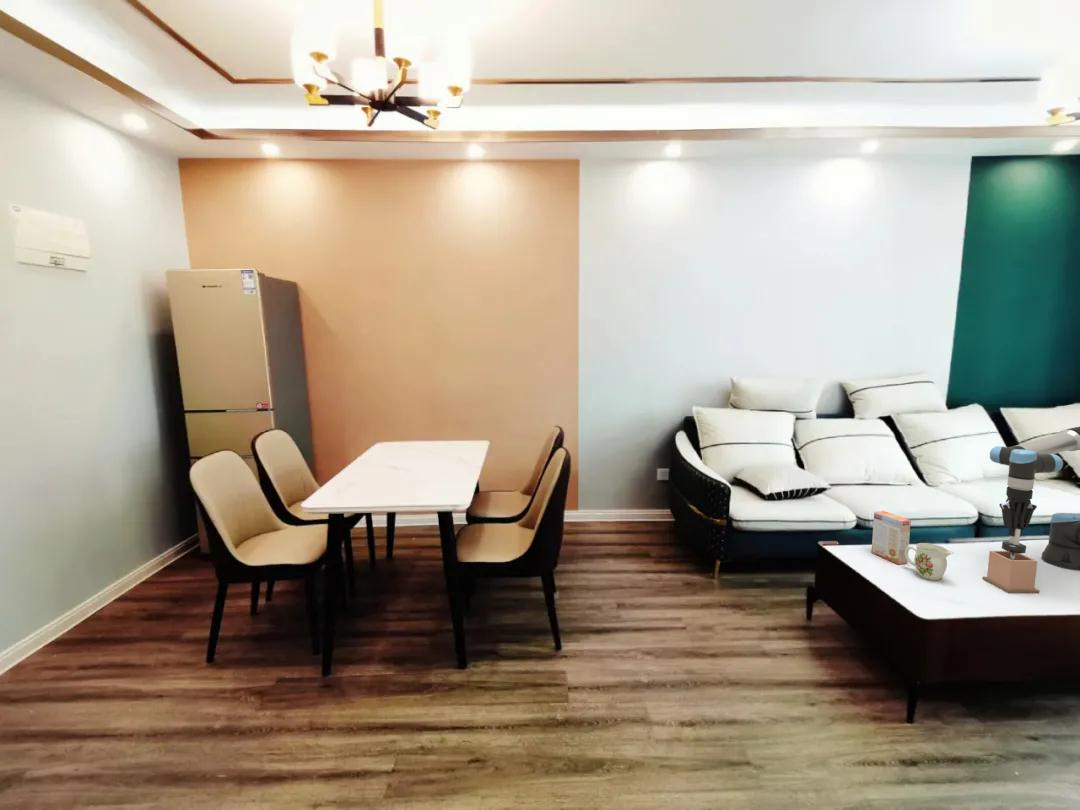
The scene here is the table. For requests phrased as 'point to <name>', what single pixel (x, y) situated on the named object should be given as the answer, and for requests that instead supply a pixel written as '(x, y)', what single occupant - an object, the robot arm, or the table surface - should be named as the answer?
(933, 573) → the pitcher
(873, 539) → the cracker box
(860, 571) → the table surface
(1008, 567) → the open square box
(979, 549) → the table surface
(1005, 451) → the robot arm
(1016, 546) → the plunger
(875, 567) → the table surface
